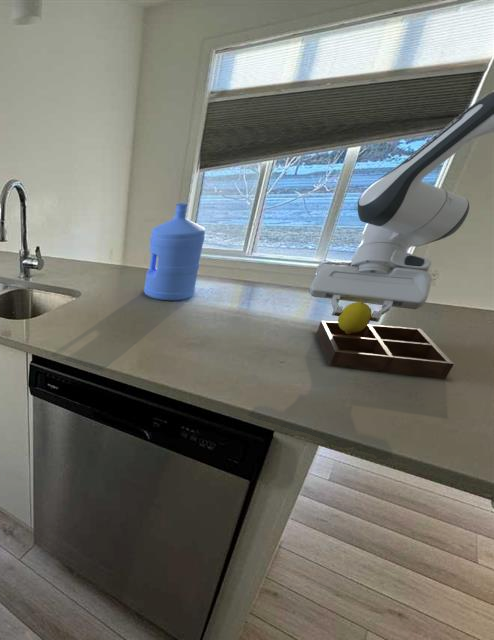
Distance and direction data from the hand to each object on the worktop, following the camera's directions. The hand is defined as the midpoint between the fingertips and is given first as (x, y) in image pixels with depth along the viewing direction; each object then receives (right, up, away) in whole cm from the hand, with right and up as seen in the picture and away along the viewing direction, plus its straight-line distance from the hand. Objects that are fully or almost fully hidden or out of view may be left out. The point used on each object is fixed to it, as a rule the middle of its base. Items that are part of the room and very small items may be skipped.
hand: (354, 317), depth 93 cm
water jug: (-23, +15, +44) cm, 52 cm away
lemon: (+1, -4, +3) cm, 5 cm away
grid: (+3, -8, -1) cm, 9 cm away
